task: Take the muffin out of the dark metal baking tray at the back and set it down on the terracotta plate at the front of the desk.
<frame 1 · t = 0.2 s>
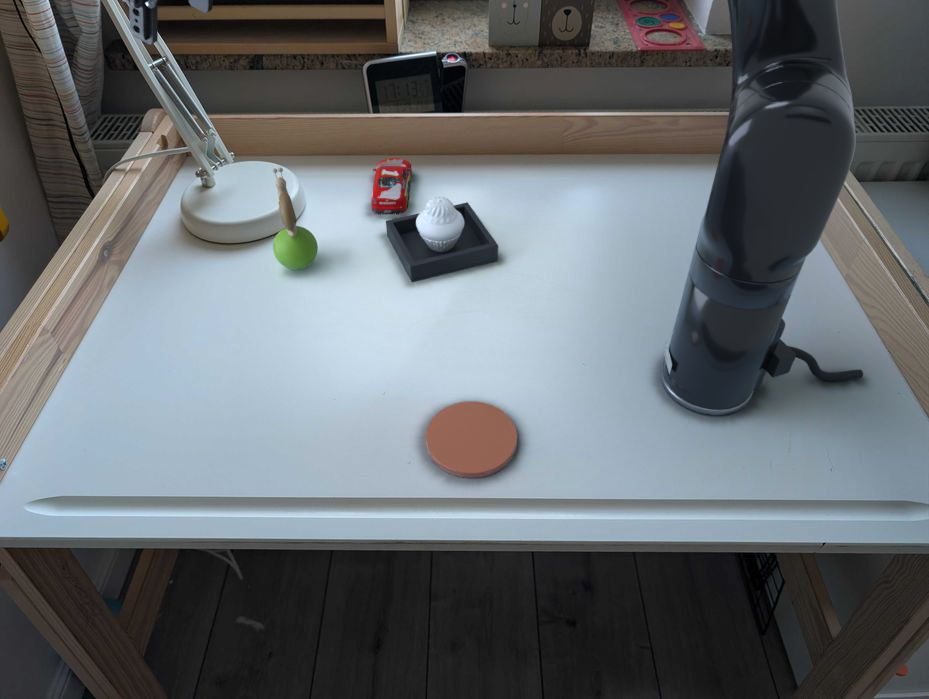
hand: (173, 23, 68), 31 cm above the table, tool tilted 20°, fingers open, 8 cm apart
plate: (471, 440, 71), on the table
race car: (393, 194, 103), on the table
tray: (441, 248, 94), on the table
snail figurine: (299, 264, 92), on the table
muffin: (441, 246, 93), resting on tray
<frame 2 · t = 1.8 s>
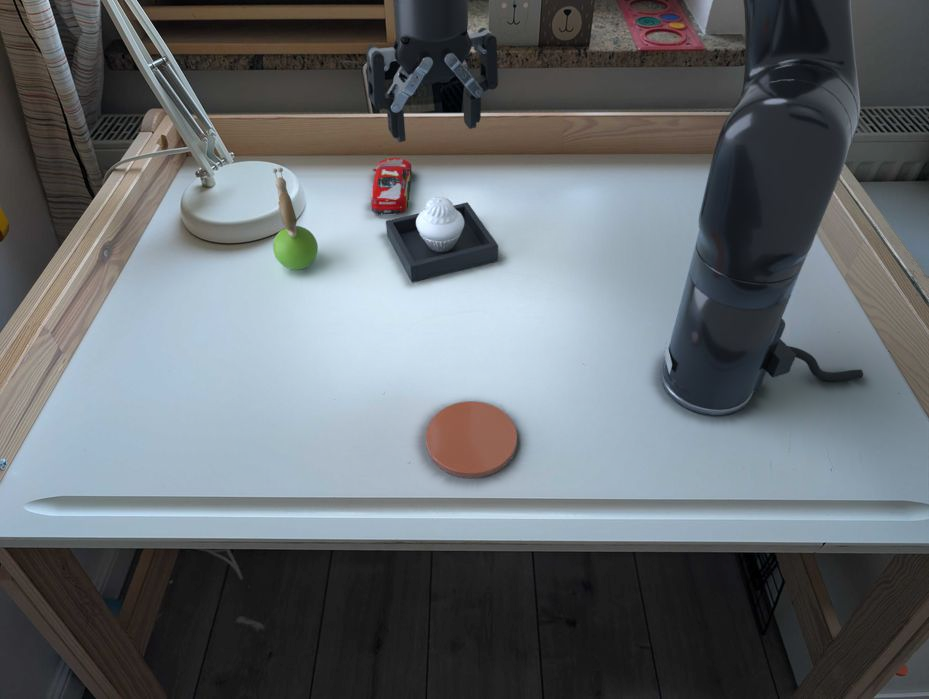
hand: (435, 132, 82), 16 cm above the table, tool pointing down, fingers open, 8 cm apart
nothing on the table moved.
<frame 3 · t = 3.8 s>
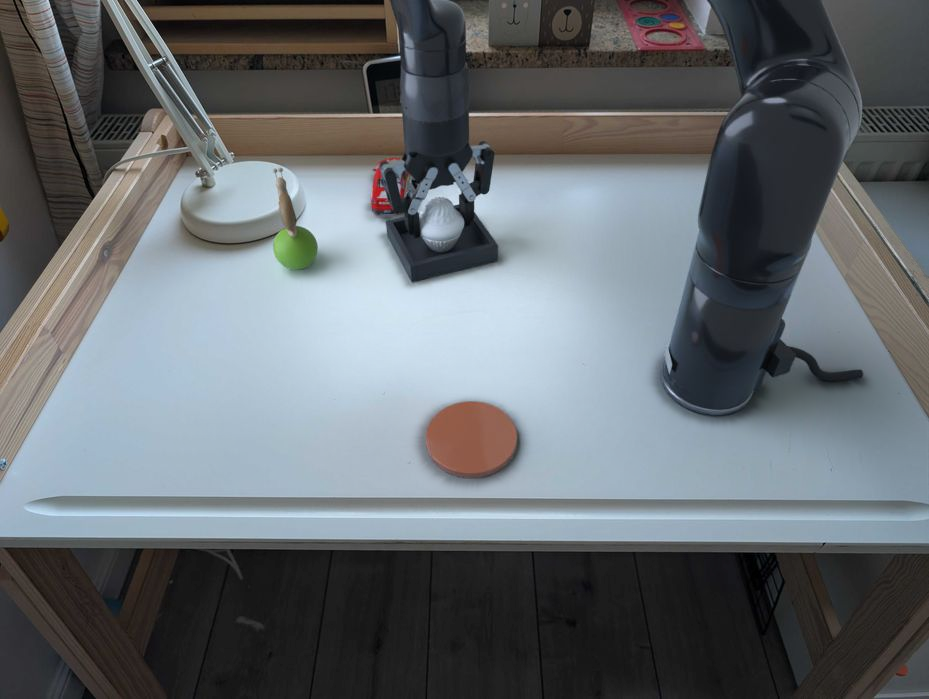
hand: (440, 228, 92), 3 cm above the table, tool pointing down, fingers closed on muffin, 6 cm apart
muffin: (441, 246, 93), resting on tray, touching gripper
everything else where it was.
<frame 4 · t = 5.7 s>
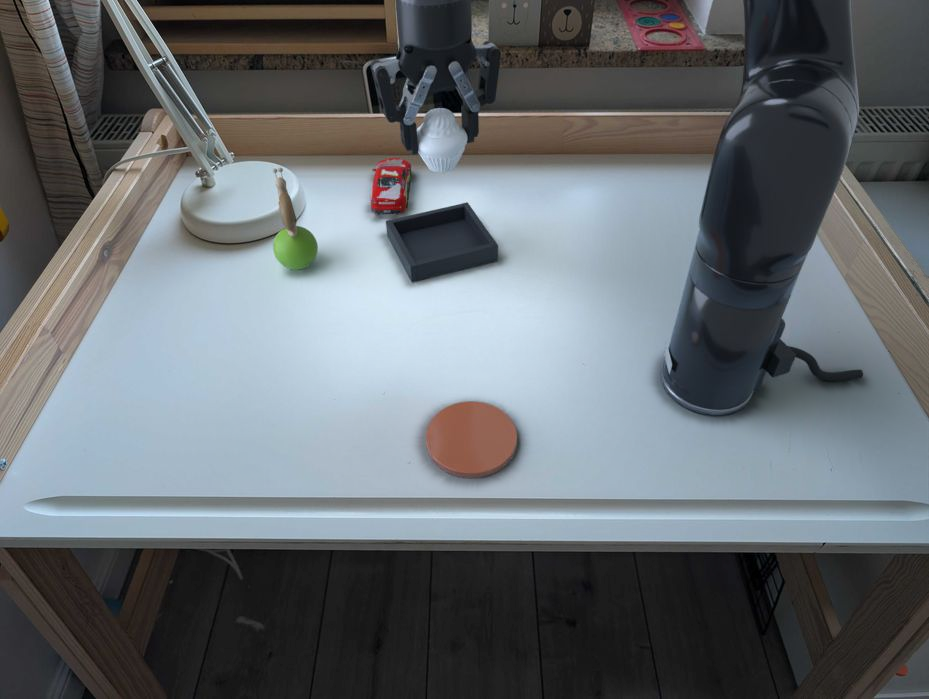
hand: (440, 145, 82), 16 cm above the table, tool pointing down, fingers closed on muffin, 6 cm apart
muffin: (441, 167, 84), point 13 cm above the table, touching gripper
everything else where it was.
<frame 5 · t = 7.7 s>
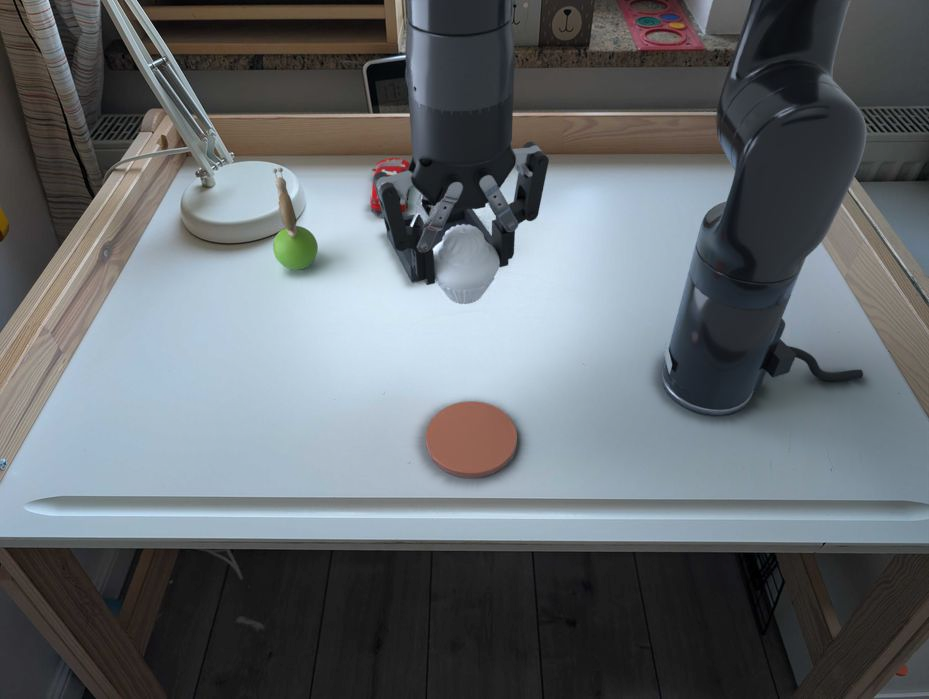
hand: (464, 269, 62), 17 cm above the table, tool pointing down, fingers closed on muffin, 6 cm apart
muffin: (464, 294, 64), point 15 cm above the table, touching gripper
everything else where it was.
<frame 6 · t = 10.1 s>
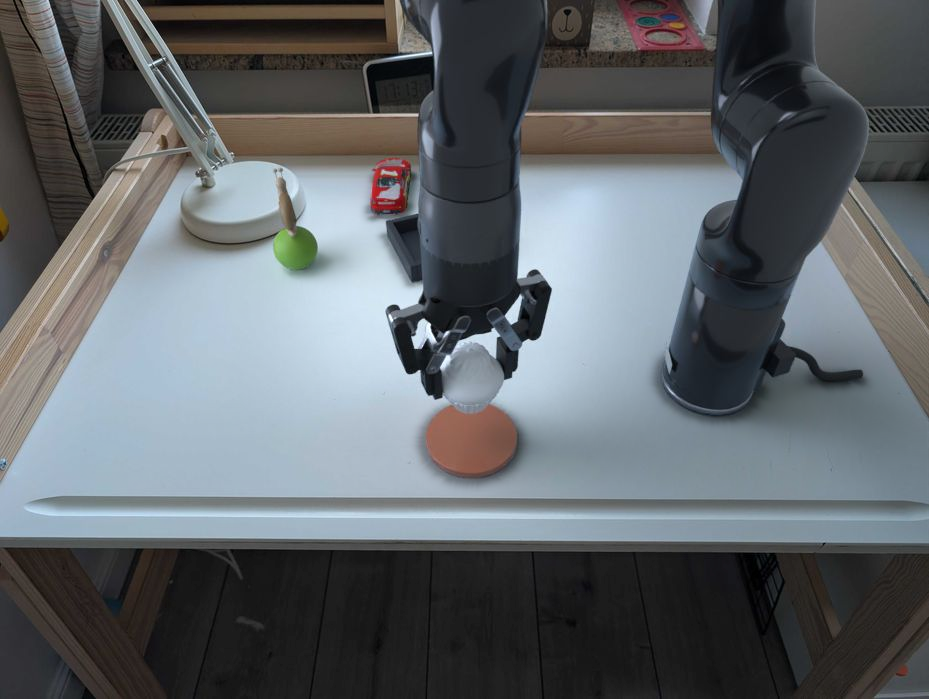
hand: (470, 382, 65), 8 cm above the table, tool pointing down, fingers closed on muffin, 6 cm apart
muffin: (469, 402, 67), point 6 cm above the table, touching gripper
everything else where it was.
when the fingers open (3 cm above the table, at t = 11.9 s): muffin stays where it is, resting on plate.
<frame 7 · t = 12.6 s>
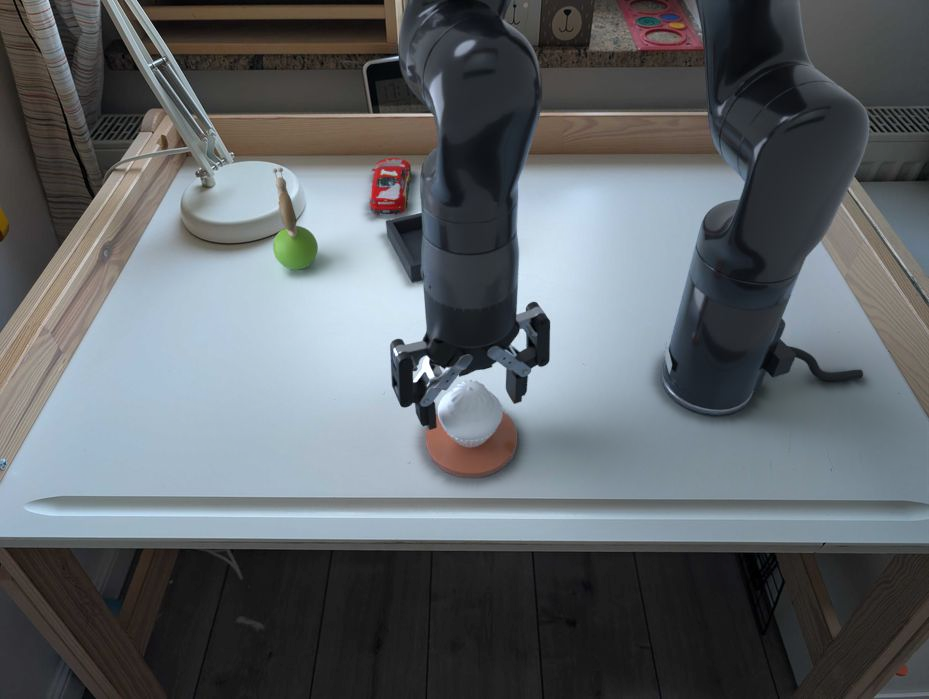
hand: (472, 409, 68), 5 cm above the table, tool pointing down, fingers open, 8 cm apart
muffin: (470, 436, 71), point 1 cm above the table, touching plate
everything else where it was.
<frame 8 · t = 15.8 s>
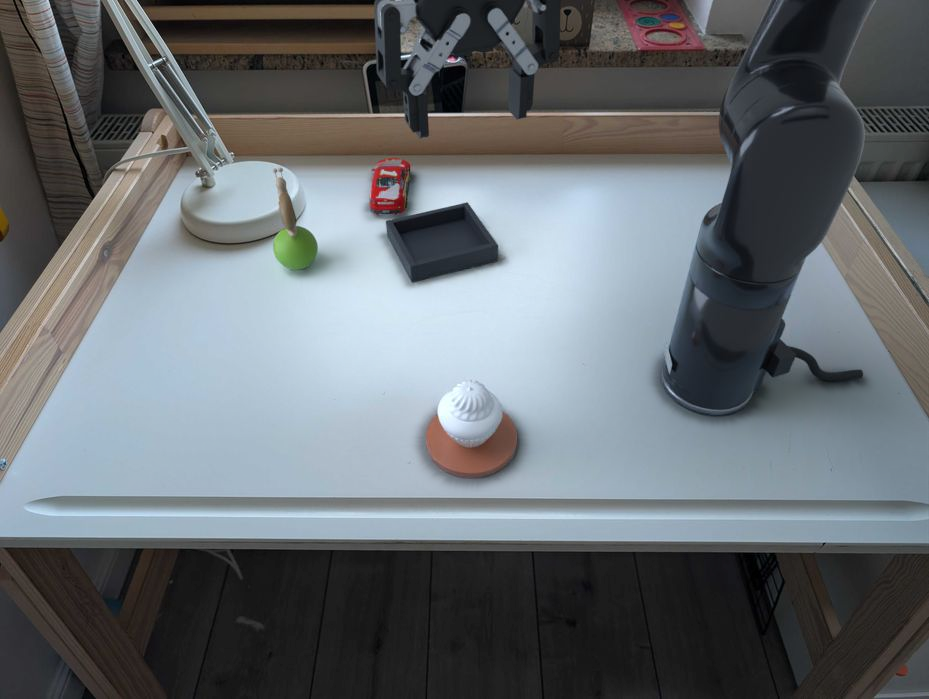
hand: (470, 124, 59), 28 cm above the table, tool pointing down, fingers open, 8 cm apart
nothing on the table moved.
at the end: muffin 0.1 cm off-centre on the plate, point 0.6 cm above the plate's base; muffin tilted 0°; the gripper is holding nothing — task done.
